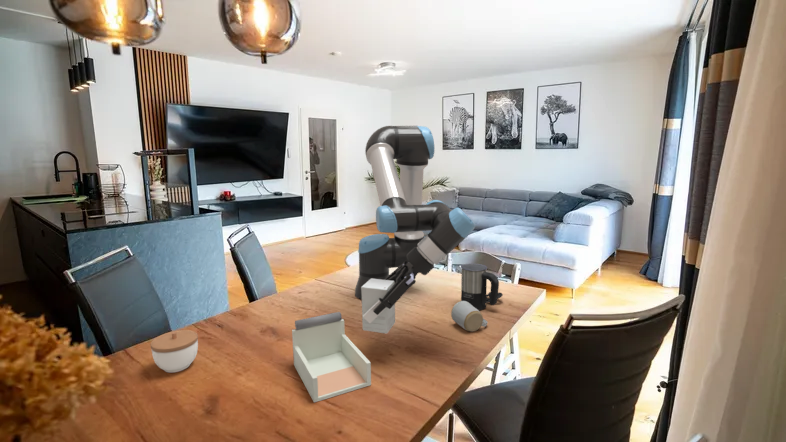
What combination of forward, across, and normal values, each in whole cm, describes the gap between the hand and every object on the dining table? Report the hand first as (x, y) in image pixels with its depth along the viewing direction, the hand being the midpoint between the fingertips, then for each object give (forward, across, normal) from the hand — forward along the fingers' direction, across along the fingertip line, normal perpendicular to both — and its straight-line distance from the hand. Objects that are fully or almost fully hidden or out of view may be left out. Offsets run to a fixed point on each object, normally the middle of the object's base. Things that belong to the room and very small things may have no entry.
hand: (367, 311), depth 108 cm
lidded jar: (+43, -7, +27) cm, 51 cm away
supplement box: (+1, 0, -6) cm, 6 cm away
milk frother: (-19, +33, -37) cm, 54 cm away
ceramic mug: (-14, +14, -31) cm, 37 cm away
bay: (+14, -12, -2) cm, 19 cm away
